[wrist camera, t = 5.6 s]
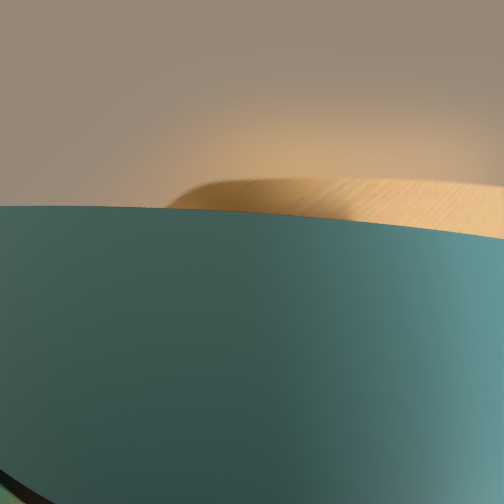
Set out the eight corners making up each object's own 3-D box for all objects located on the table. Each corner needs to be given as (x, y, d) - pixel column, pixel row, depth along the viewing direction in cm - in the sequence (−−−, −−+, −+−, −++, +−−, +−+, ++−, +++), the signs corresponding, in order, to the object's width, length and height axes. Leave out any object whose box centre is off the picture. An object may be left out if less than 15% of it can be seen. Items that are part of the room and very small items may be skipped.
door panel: (327, 403, 14) (528, 508, 1) (201, 391, 15) (-39, 437, 2) (333, 341, 15) (542, 225, 2) (208, 330, 16) (4, 189, 3)
